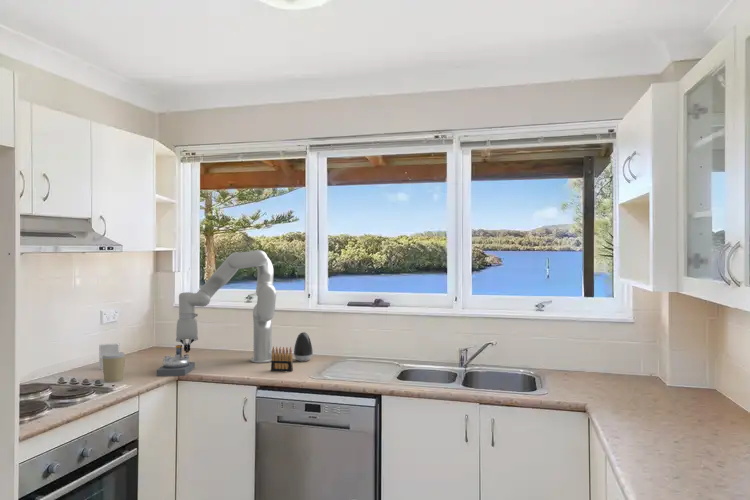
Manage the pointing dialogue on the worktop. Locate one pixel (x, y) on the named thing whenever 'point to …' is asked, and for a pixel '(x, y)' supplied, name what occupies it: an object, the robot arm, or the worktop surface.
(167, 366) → the gold-rimmed tube plate
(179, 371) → the grey rectangular base plate
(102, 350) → the base with upright slab
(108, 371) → the coffee cup
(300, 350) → the black egg shaped speaker
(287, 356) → the ammunition clip
